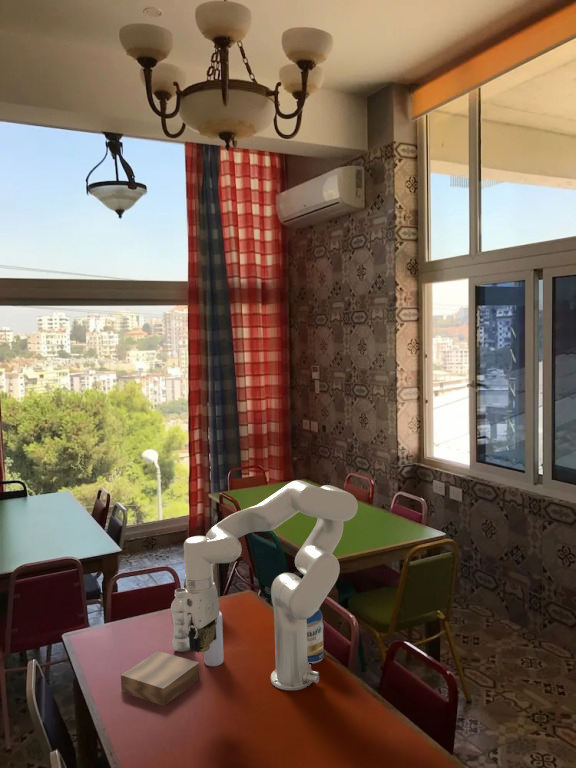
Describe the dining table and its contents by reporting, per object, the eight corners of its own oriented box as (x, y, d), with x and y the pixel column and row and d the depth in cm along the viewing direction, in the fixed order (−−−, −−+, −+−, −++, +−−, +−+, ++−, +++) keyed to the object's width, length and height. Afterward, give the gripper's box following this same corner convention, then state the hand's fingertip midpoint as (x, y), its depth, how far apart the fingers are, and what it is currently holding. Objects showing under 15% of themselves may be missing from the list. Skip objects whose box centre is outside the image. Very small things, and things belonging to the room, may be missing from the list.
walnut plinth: (199, 678, 189) (199, 662, 189) (164, 706, 175) (163, 688, 175) (158, 666, 197) (157, 650, 197) (121, 691, 183) (120, 675, 183)
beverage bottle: (324, 651, 204) (323, 591, 202) (323, 665, 195) (322, 602, 194) (298, 651, 204) (297, 590, 203) (296, 664, 196) (294, 601, 195)
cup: (184, 653, 174) (182, 625, 173) (200, 641, 180) (198, 614, 180) (206, 658, 170) (205, 630, 170) (222, 646, 177) (220, 618, 176)
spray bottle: (227, 659, 200) (224, 591, 199) (217, 668, 195) (214, 599, 193) (210, 655, 203) (208, 589, 201) (200, 664, 197) (198, 596, 196)
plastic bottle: (191, 654, 204) (189, 594, 203) (170, 654, 204) (168, 594, 203) (194, 644, 211) (192, 586, 209) (174, 645, 211) (172, 586, 209)
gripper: (190, 596, 164) (194, 662, 166) (228, 573, 179) (232, 633, 181) (168, 591, 168) (172, 656, 169) (207, 569, 183) (211, 629, 184)
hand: (203, 644), depth 175 cm, fingers closed on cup, 6 cm apart
